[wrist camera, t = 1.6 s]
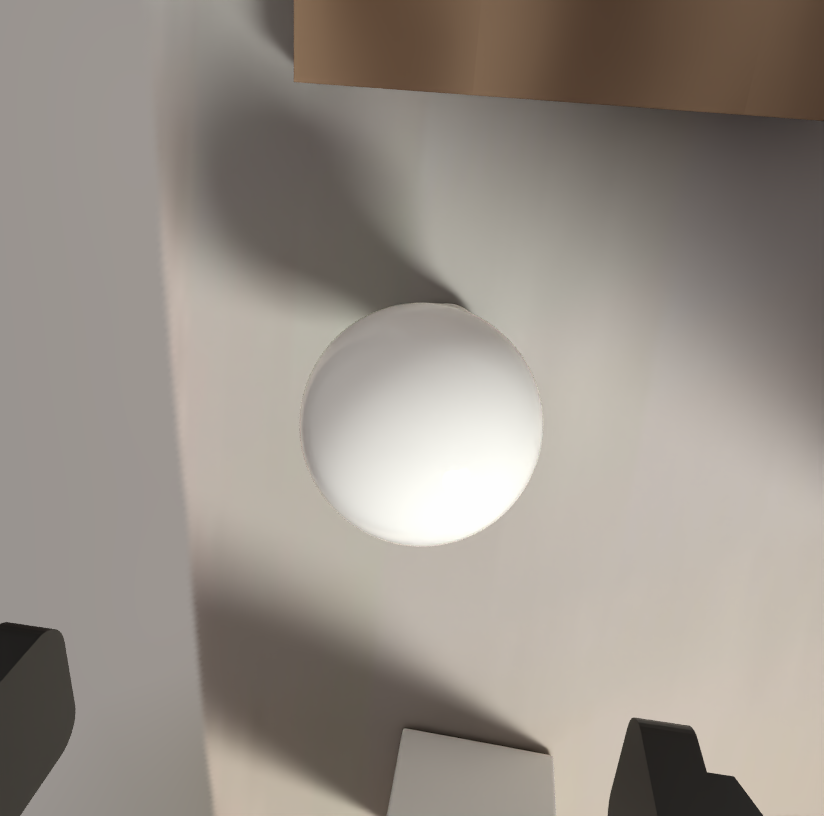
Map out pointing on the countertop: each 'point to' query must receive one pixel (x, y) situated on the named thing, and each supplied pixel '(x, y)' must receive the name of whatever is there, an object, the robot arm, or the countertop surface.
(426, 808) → the milk carton
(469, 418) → the lightbulb
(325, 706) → the countertop surface
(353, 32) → the holder block
